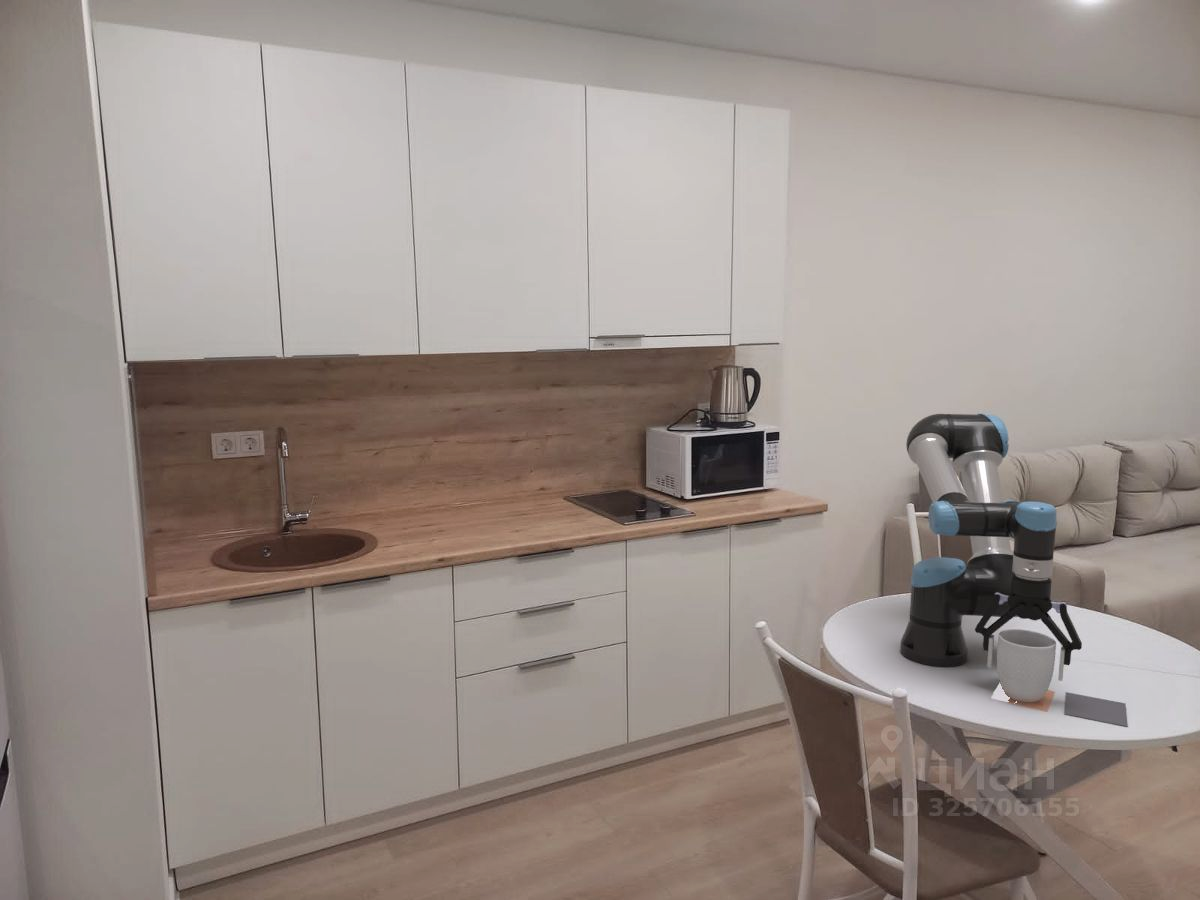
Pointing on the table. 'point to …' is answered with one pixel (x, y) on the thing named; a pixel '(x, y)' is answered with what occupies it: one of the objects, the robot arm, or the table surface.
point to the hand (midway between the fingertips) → (1024, 671)
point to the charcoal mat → (1096, 709)
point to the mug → (1025, 664)
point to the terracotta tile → (1039, 705)
